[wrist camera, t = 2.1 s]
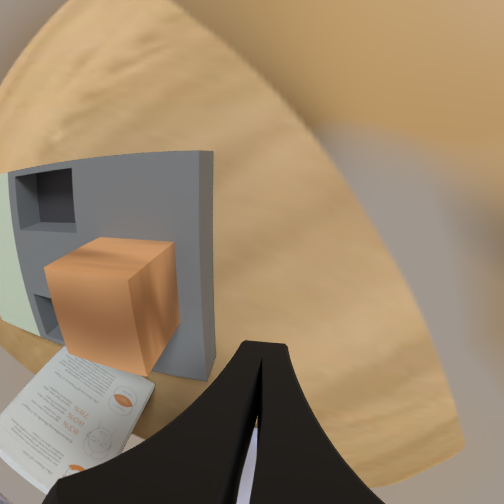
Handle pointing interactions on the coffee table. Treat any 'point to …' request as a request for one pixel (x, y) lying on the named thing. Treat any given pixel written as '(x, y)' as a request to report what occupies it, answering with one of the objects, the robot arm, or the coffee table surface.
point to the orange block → (117, 301)
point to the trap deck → (112, 226)
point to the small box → (70, 418)
